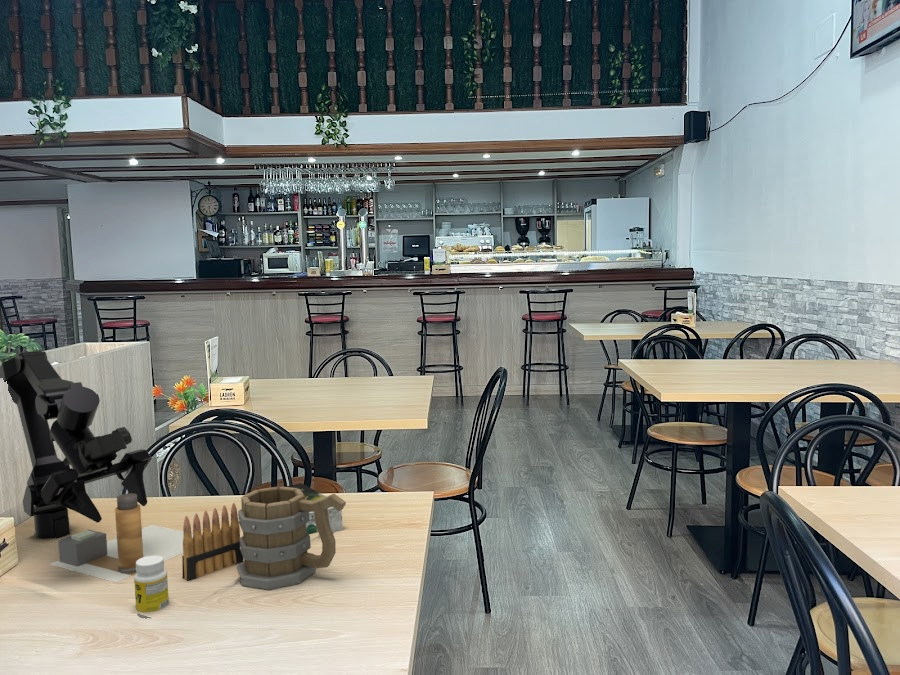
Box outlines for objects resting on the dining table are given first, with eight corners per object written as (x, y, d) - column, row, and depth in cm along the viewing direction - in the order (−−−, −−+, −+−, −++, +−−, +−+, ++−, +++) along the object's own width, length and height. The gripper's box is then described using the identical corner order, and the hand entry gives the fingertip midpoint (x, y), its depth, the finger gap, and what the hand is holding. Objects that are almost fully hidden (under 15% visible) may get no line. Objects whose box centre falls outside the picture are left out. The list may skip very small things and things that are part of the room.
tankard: (223, 583, 122) (218, 497, 121) (267, 555, 134) (263, 476, 132) (326, 599, 115) (322, 508, 113) (363, 568, 127) (360, 485, 125)
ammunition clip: (187, 588, 120) (183, 518, 119) (182, 585, 122) (178, 516, 120) (244, 568, 128) (241, 502, 127) (238, 565, 129) (235, 500, 128)
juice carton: (348, 531, 146) (346, 501, 145) (303, 543, 140) (301, 513, 139) (305, 507, 162) (303, 481, 161) (263, 517, 156) (261, 490, 156)
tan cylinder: (113, 570, 125) (108, 498, 124) (133, 562, 129) (129, 491, 128) (129, 575, 123) (124, 501, 122) (149, 566, 127) (145, 494, 126)
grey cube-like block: (59, 561, 130) (57, 537, 129) (89, 550, 135) (88, 526, 135) (77, 566, 127) (75, 541, 127) (107, 554, 133) (105, 530, 132)
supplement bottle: (134, 609, 113) (131, 558, 112) (166, 602, 115) (163, 551, 114) (138, 622, 109) (134, 568, 108) (171, 614, 111) (168, 561, 110)
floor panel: (49, 570, 129) (49, 564, 129) (152, 530, 148) (151, 524, 148) (116, 589, 120) (116, 582, 120) (215, 544, 140) (215, 538, 140)
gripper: (46, 426, 118) (94, 501, 114) (142, 406, 135) (187, 470, 131) (20, 467, 123) (66, 540, 119) (116, 443, 139) (159, 506, 135)
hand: (123, 512), depth 126 cm, fingers open, 9 cm apart
